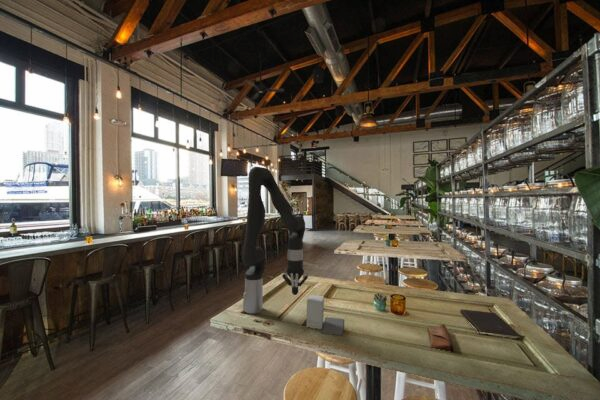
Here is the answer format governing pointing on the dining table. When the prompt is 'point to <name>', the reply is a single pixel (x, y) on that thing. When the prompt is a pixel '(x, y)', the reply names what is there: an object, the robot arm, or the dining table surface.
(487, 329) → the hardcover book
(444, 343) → the sunglasses case
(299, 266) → the robot arm
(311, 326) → the supplement box
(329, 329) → the dark grey rectangular panel
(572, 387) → the dining table surface
